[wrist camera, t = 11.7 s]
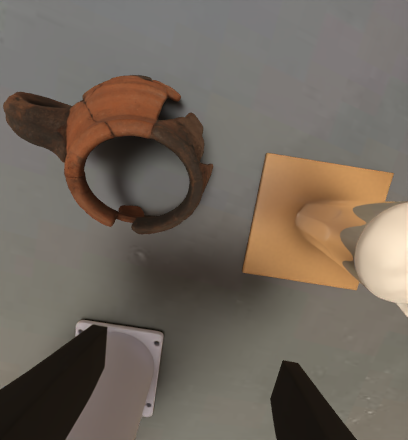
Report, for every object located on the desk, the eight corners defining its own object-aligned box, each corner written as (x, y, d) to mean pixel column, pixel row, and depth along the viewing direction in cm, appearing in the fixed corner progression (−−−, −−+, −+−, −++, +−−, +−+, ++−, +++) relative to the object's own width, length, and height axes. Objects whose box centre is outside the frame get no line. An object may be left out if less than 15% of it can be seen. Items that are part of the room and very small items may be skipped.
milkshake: (282, 254, 17) (379, 349, 8) (291, 190, 16) (416, 202, 7) (336, 258, 17) (505, 358, 8) (348, 194, 16) (560, 212, 7)
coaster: (353, 288, 18) (356, 290, 18) (241, 270, 18) (242, 272, 18) (389, 173, 16) (394, 173, 16) (265, 153, 16) (267, 152, 16)
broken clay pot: (217, 93, 16) (245, 125, 10) (187, 194, 22) (192, 254, 15) (36, 29, 13) (-98, 14, 6) (55, 167, 18) (-7, 231, 12)
